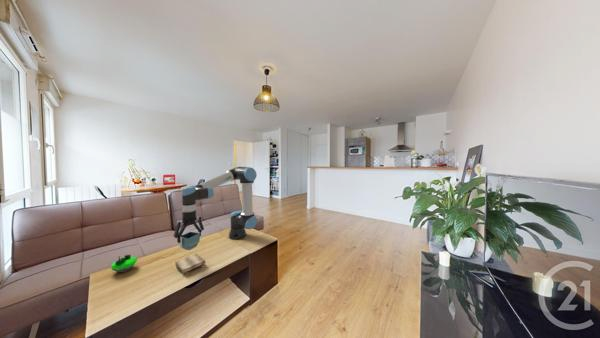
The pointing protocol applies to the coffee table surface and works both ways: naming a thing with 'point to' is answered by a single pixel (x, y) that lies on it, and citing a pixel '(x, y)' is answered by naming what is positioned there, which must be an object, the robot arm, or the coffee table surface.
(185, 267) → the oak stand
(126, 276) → the coffee table surface
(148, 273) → the coffee table surface
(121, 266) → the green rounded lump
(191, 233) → the flower pot
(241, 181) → the robot arm
